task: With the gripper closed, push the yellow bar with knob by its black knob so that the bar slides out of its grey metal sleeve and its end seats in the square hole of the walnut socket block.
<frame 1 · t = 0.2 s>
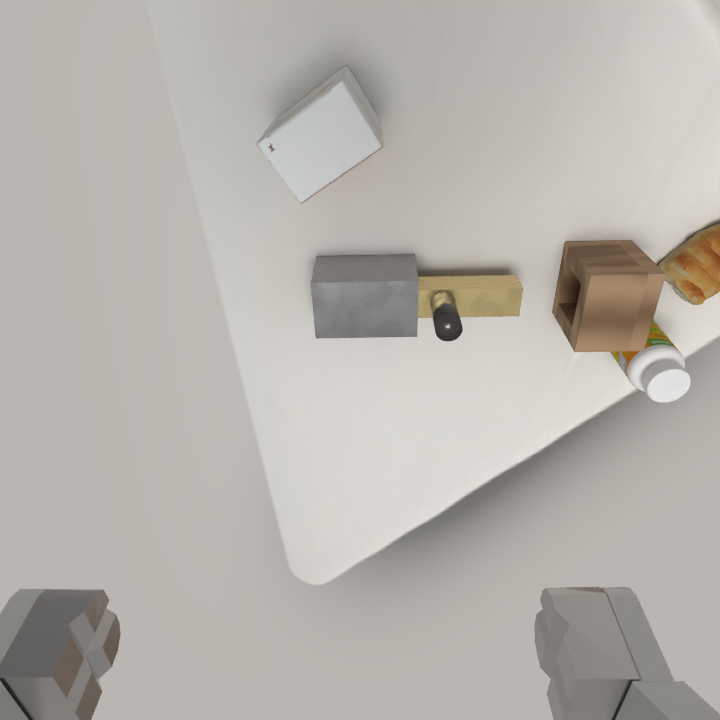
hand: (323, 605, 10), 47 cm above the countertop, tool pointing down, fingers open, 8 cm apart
small box: (328, 119, 50), on the countertop
socket: (587, 277, 58), on the countertop
pastry: (698, 255, 57), on the countertop
supplement bottle: (629, 333, 62), on the countertop
yellow bar with knob: (417, 309, 53), point 6 cm above the countertop, slide at 0.0 cm
sleeve: (366, 282, 59), on the countertop
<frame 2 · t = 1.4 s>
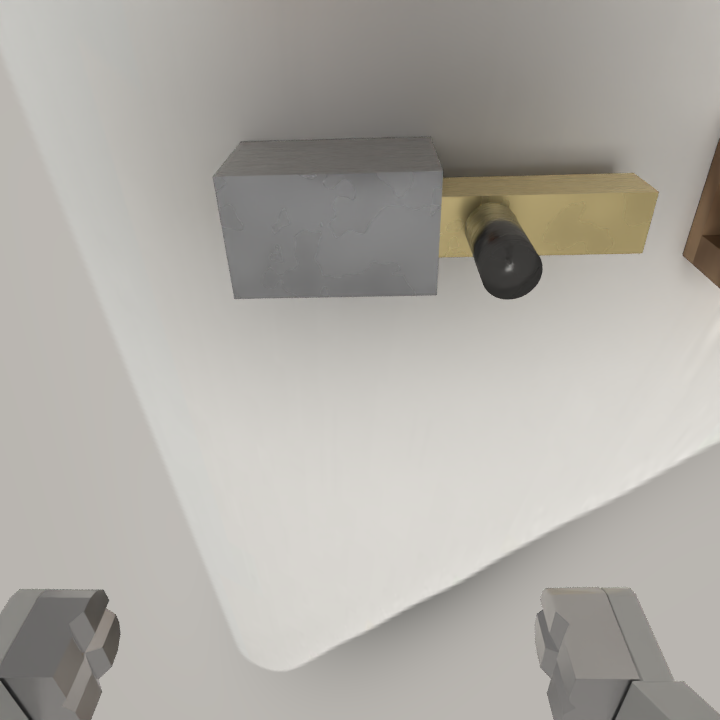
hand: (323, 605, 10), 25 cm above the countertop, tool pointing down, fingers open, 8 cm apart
yellow bar with knob: (439, 236, 26), point 6 cm above the countertop, slide at 0.0 cm
sleeve: (338, 195, 31), on the countertop
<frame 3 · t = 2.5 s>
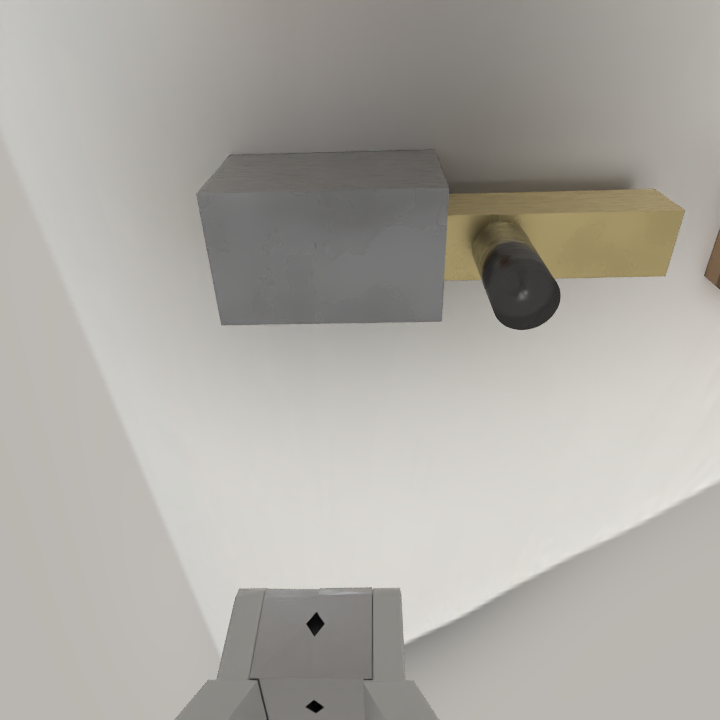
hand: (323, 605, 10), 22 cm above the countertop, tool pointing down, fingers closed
yellow bar with knob: (444, 258, 24), point 6 cm above the countertop, slide at 0.0 cm
sleeve: (334, 212, 29), on the countertop
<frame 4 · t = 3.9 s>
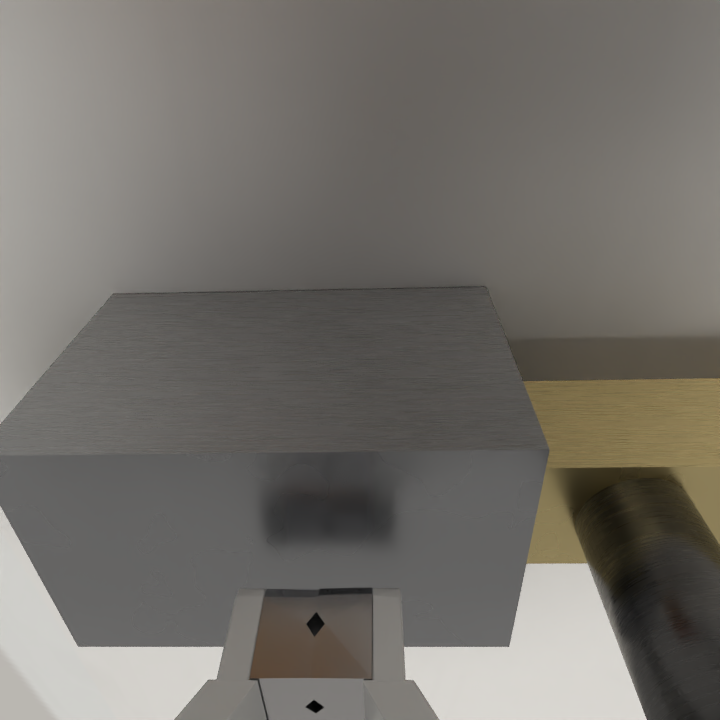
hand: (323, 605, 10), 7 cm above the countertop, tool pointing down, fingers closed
yellow bar with knob: (525, 558, 11), point 6 cm above the countertop, slide at 0.0 cm
sleeve: (306, 382, 17), on the countertop
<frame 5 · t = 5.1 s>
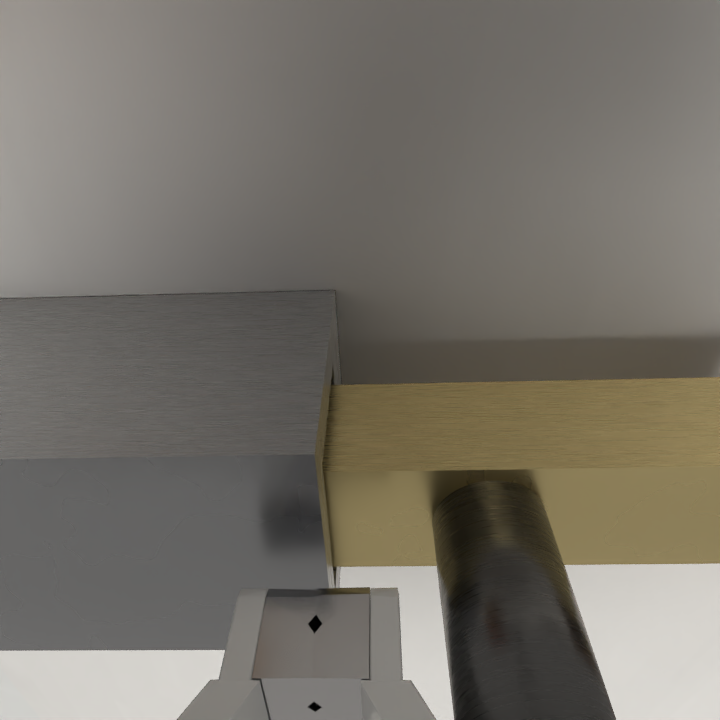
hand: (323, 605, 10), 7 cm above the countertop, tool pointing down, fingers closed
yellow bar with knob: (371, 561, 11), point 6 cm above the countertop, slide at 0.9 cm, touching gripper
sleeve: (173, 386, 17), on the countertop
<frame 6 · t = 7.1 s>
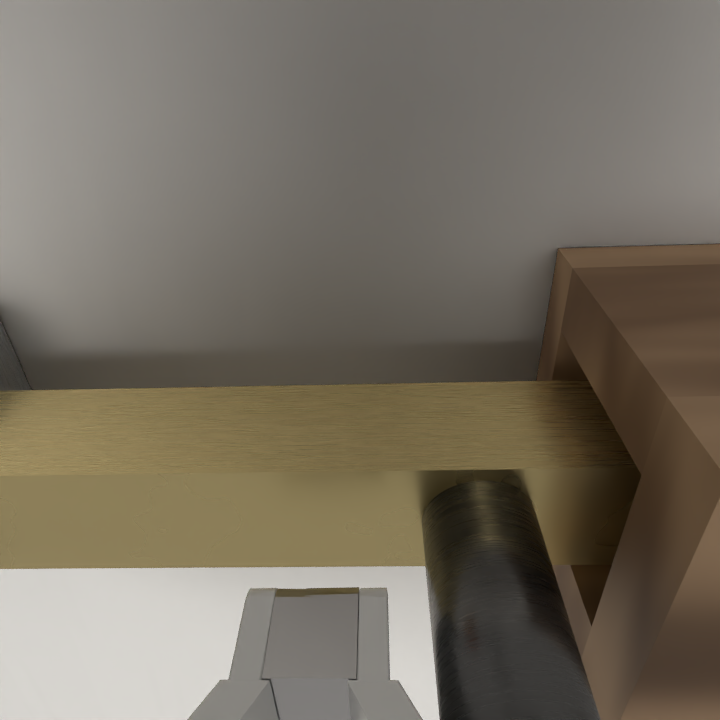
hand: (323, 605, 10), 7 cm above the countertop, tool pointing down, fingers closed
socket: (641, 376, 16), on the countertop
yellow bar with knob: (360, 561, 11), point 6 cm above the countertop, slide at 10.0 cm, touching gripper, socket
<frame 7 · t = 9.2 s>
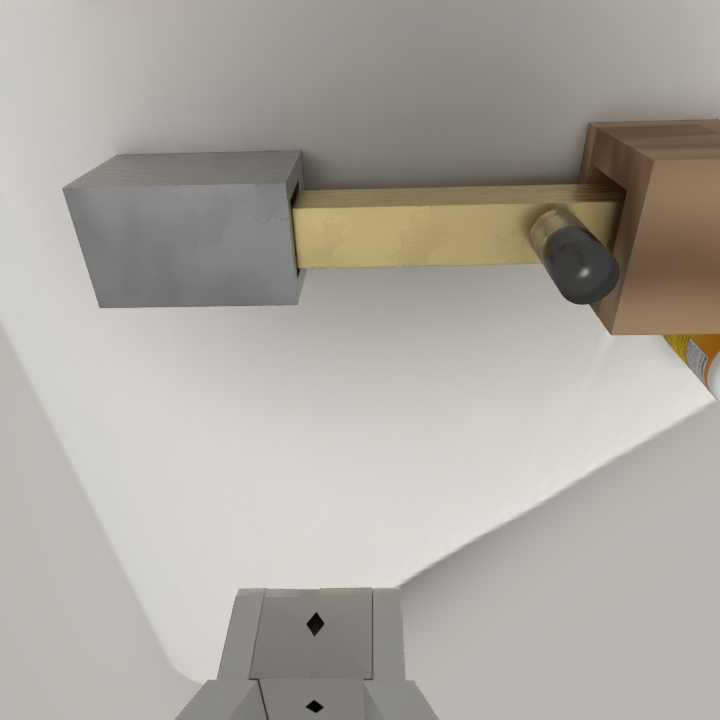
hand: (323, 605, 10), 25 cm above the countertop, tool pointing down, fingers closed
socket: (629, 198, 31), on the countertop
supplement bottle: (700, 307, 35), on the countertop
yellow bar with knob: (506, 242, 26), point 6 cm above the countertop, slide at 10.0 cm, touching socket
sleeve: (217, 207, 32), on the countertop
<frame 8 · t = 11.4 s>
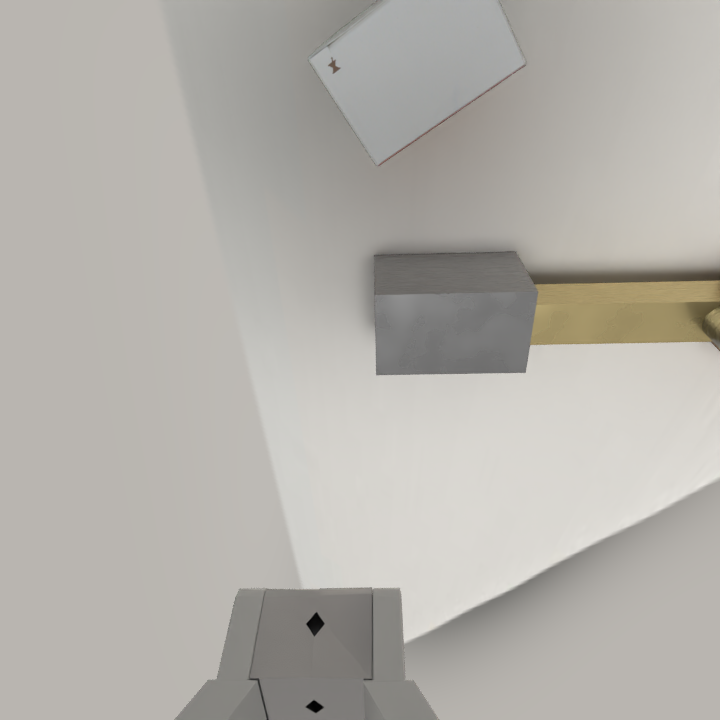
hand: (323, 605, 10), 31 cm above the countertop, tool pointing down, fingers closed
small box: (404, 44, 33), on the countertop
yellow bar with knob: (689, 330, 36), point 6 cm above the countertop, slide at 10.0 cm, touching socket
sleeve: (442, 291, 41), on the countertop
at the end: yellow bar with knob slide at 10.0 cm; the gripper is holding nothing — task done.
